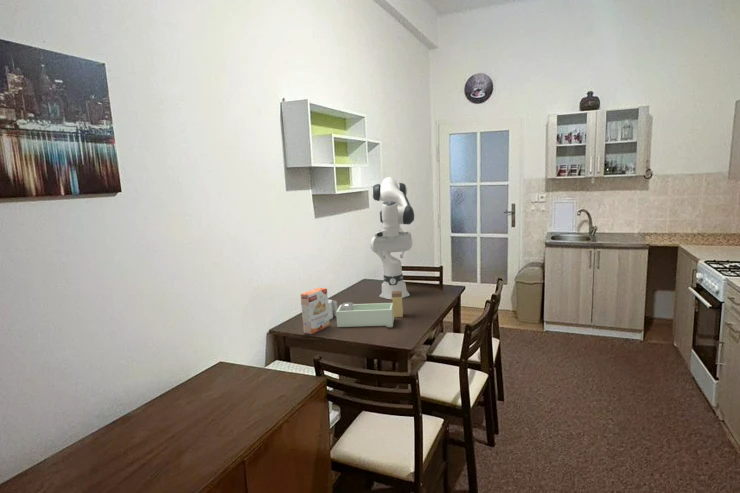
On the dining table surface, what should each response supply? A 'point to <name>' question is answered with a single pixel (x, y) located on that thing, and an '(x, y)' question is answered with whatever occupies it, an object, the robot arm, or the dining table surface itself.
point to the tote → (366, 315)
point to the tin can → (347, 306)
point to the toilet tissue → (332, 308)
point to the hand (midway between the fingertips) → (392, 258)
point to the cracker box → (315, 310)
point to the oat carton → (397, 303)
